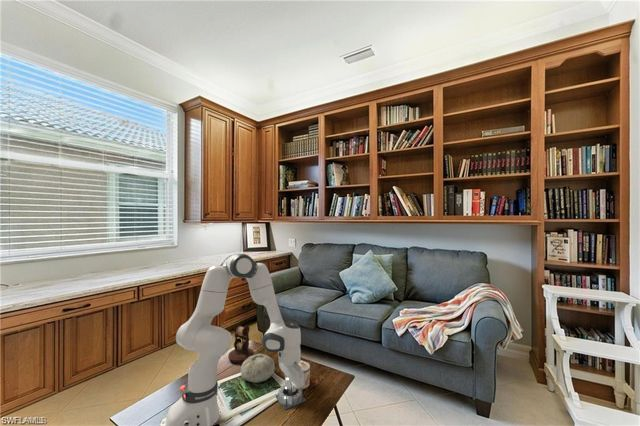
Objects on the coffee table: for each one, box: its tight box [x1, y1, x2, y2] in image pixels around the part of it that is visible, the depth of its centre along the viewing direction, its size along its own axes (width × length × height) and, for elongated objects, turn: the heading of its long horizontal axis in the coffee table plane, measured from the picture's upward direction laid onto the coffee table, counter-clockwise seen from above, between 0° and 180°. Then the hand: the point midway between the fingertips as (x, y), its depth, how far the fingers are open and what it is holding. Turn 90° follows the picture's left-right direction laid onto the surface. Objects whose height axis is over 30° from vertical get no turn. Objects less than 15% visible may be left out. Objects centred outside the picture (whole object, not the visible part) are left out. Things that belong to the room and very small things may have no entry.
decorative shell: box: [240, 353, 276, 384], centre depth 141 cm, size 18×18×10 cm
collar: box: [275, 384, 307, 411], centre depth 125 cm, size 11×11×3 cm
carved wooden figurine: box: [227, 322, 255, 365], centre depth 160 cm, size 15×15×20 cm
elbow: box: [284, 376, 296, 396], centre depth 126 cm, size 5×6×7 cm
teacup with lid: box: [298, 359, 311, 390], centre depth 138 cm, size 12×9×12 cm
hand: (290, 386), depth 126 cm, fingers closed on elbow, 5 cm apart
